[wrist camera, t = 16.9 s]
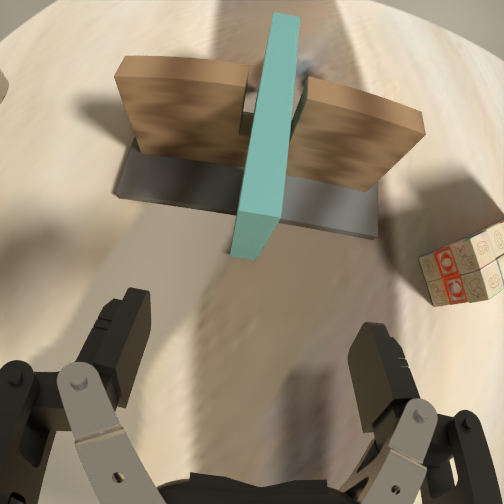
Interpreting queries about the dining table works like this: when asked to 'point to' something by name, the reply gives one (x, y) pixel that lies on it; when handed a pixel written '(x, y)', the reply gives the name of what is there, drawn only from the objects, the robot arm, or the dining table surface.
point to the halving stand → (238, 136)
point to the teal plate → (268, 142)
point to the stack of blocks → (467, 268)
